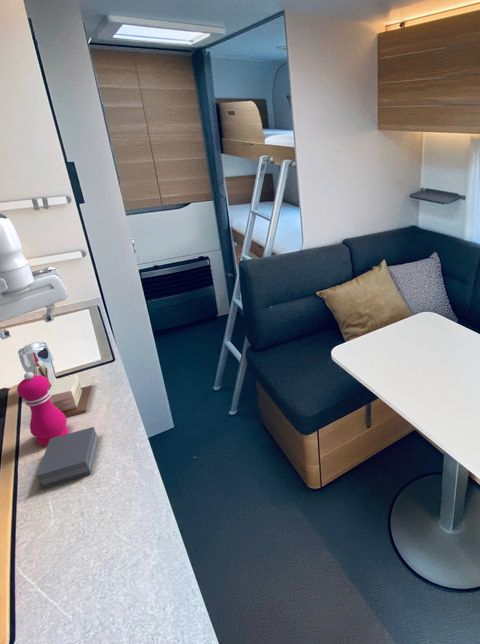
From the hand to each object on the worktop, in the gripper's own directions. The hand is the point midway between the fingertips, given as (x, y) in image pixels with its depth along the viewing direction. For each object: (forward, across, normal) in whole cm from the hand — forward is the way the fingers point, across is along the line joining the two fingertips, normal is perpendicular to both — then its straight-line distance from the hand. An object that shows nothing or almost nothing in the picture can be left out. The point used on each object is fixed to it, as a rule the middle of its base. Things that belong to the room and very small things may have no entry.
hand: (28, 329), depth 103 cm
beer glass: (+27, -3, -14) cm, 30 cm away
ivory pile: (+26, -3, -1) cm, 27 cm away
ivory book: (+21, -3, 0) cm, 21 cm away
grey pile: (+26, +8, +23) cm, 36 cm away
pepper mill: (+27, +6, +9) cm, 29 cm away
